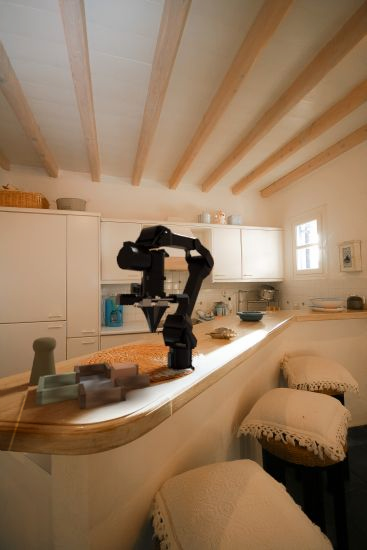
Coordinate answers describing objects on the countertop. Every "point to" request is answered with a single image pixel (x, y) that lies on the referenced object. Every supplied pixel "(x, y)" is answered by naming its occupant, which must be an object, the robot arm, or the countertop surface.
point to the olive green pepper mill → (43, 359)
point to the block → (122, 370)
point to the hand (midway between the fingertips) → (152, 332)
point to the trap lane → (88, 386)
